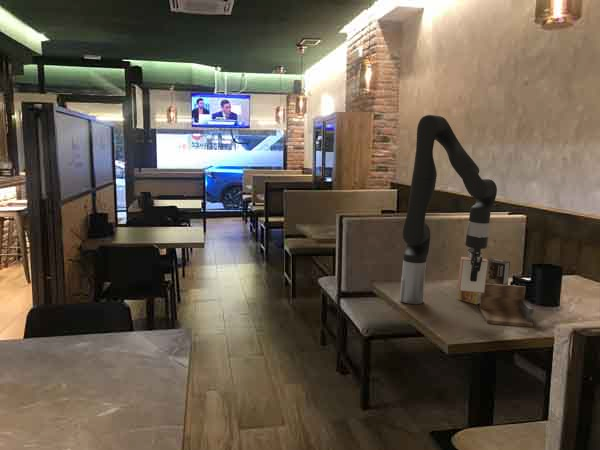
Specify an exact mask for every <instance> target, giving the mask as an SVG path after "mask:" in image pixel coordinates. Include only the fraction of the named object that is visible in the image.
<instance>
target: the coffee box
mask: <svg viewBox="0 0 600 450" xmlns="http://www.w3.org/2000/svg"><path fill="white" fill-rule="evenodd" d="M486 259H487V260H488V269H487V277H486V283H487V284H500V285H509V278H510V277H509V276H510V269H511V268H510V266H511V261H509V260H503V259H497V258H491V257H489V258H486Z"/></svg>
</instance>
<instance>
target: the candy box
mask: <svg viewBox="0 0 600 450" xmlns="http://www.w3.org/2000/svg"><path fill="white" fill-rule="evenodd" d="M480 298H481V293H477V292H466V291H459V290H458V289H457V300H459V301H462V300H463V301H462V302H466V303H470V304H472V305H480Z"/></svg>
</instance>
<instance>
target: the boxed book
mask: <svg viewBox="0 0 600 450" xmlns="http://www.w3.org/2000/svg"><path fill="white" fill-rule="evenodd" d="M487 259H488V258H482V262H481V267H480V271H478V273H477V281H476V282H473V281H470V276H471V264H470V262H471V260H470V258H469V257H468V256H461V257H460V263H459V269H458V270H459V272H458V281H457V291H458V290H459V291H466V292H477V293H485V285H486V277H487V269H488V260H487ZM472 262H473V260H472ZM475 268H477V266H475Z"/></svg>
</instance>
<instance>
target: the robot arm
mask: <svg viewBox="0 0 600 450" xmlns="http://www.w3.org/2000/svg"><path fill="white" fill-rule="evenodd" d="M435 141H437V142H438V143H439V144H440V145H441V146H442V147H443V148H444V150H445V151H446V155H447V158H448V160H449V163H450V165H451V166H452V168H453V169H454V170H455V172H456V173H457V175H458V176H459V177H460V178H461V179H462V182H463V185H464V187H465V189H466V192H467V193H468V194H469V195H470V196H471V197H472V198H473V199H475V200H476V202H475V204H474V205H472V206H471V207H470V210H469V217H468V224H467V227H466V236H465V242H464V243H465V246H466V247H468V250H467V254H468V255H467V257H469V258H470V260H471V262H470V264H471V276H470V281H473V282H476V281H477V273H478V271H480V267H481V262H482V259H483V253H482V252H481V251H482V249H483V250H484V249H486V248H488V243H489V233H490V221H491V211H492V210H493V209H492V208H493V206H494V204H495V201H496V197H497V193H498V187H497V185H496V183H495V181H494V180H492V179H489V178H488V179H487V178H484V179H482V178H481V175H479V174H480V168H479V166H478V165H477V163H476V162H475V161H474V160H473V159H472V157H471V156H470V155H469V153H467V151H466V150H465V148H464V147H463V146H462V144H461V143H460V141H459V139H458V138H457V136H456V134H455V133H454V131H453V129H452V127H451V125H450V122H448V120H447V119H446V118H445V117H443V116H440V115H434V114H425V115H423V116H422V117H421V118H420V119H419V121H418V124H417V129H416V144H415V145H416V146H415V148H416V149H415V156H414V157H415V158H414V163H413V164H414V165H413V170H412V171H413V172H412V176H411V181H410V182H411V183H410V184H411V185H410V192H409V198H408V207H407V213H406V217H405V221H404V224H403V228H402V238H403V241H404V242H405V244H406V248H405V250H404V252H403V255H402V258H403V260H402V271H401V278H400V293H399V294H400V295H399V300H400V303H404V304H405V303H406V304H409V305H421V304H422V303H424V292H425V284H426V283H425V282H426V281H425V280H426V266H427V258H428V255H429V250H430V245H431V243H430V241H431V229H430V227H429V225H428V224H427V223H426V215H427V210H428V208H429V206H430V203H431V201H432V199H433V196H434V193H435V189H436V188H435V187H436V184H437V166H436V164H435V159H434V155H433V154H434V145H435ZM472 260H473V262H472ZM475 266H477V268H475Z"/></svg>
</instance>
